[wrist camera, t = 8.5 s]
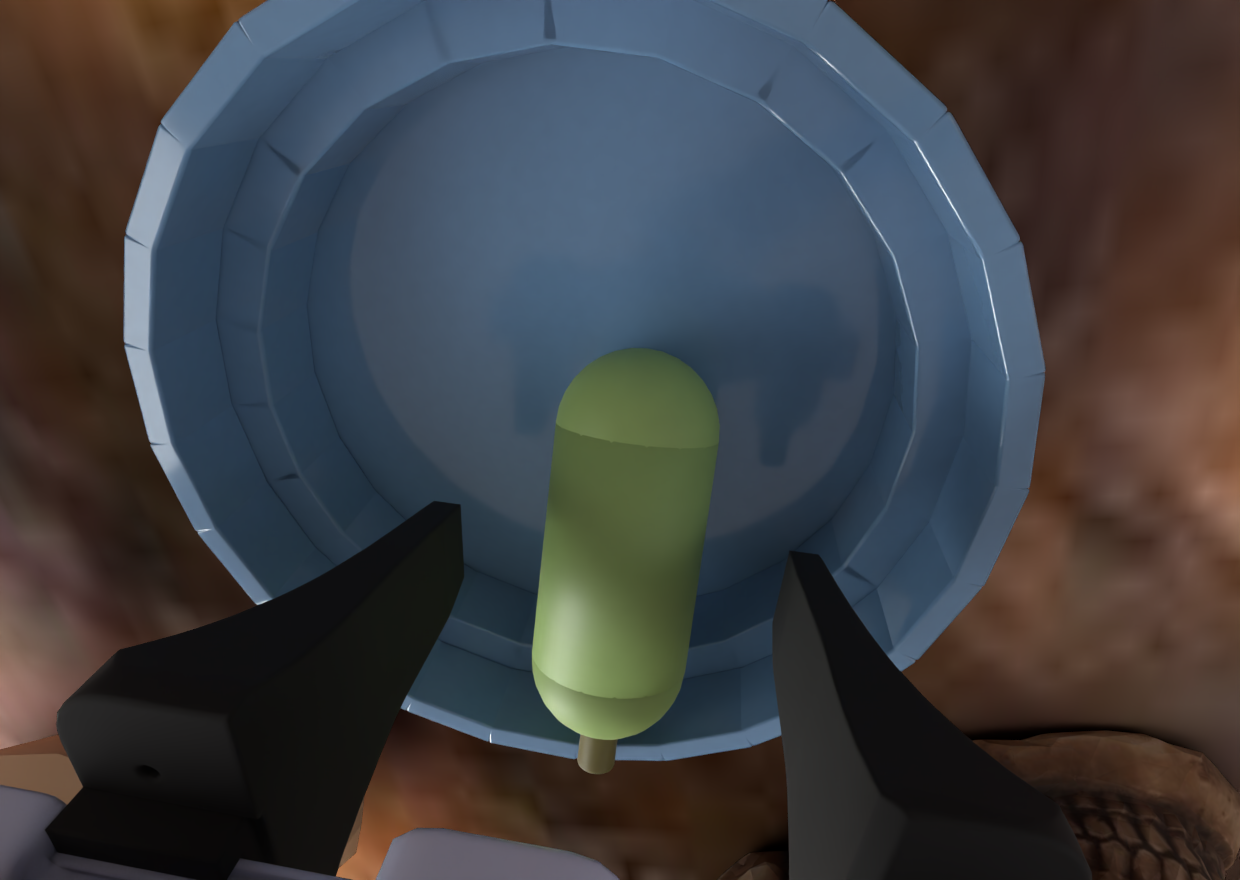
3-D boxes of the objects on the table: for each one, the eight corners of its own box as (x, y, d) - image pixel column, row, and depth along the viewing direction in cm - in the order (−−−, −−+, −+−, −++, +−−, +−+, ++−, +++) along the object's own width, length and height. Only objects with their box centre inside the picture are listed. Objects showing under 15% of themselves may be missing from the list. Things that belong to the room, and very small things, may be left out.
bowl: (843, -252, 11) (903, -414, 7) (1024, 553, 18) (1105, 689, 14) (120, 178, 17) (-68, 214, 13) (469, 678, 23) (417, 802, 19)
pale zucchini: (580, 336, 17) (547, 339, 13) (728, 355, 17) (734, 363, 13) (540, 709, 19) (502, 799, 15) (673, 733, 18) (665, 830, 15)
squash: (-63, 740, 30) (-360, 940, 22) (310, 588, 26) (127, 759, 18) (82, 921, 33) (-134, 1166, 24) (444, 806, 29) (340, 1051, 20)
